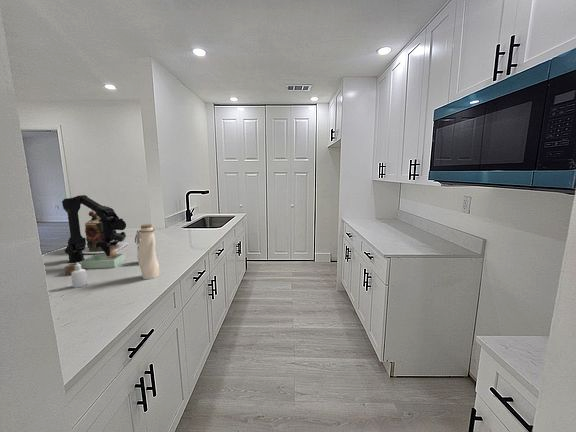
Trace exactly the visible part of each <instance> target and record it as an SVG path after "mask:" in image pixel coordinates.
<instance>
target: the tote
mask: <svg viewBox="0 0 576 432" xmlns="http://www.w3.org/2000/svg"><path fill="white" fill-rule="evenodd" d="M84 259H85V260H83V261H81V262H80V263H81V269H85V270H90V269H91V270H93V269H113V268H117V267H118V266H120V265H121V264H122V263H124V262H126V253H116V257H115V258H106V254H92V255H91V256H89V257H87V258H84Z"/></svg>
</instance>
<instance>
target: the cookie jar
mask: <svg viewBox="0 0 576 432" xmlns="http://www.w3.org/2000/svg"><path fill="white" fill-rule="evenodd" d="M88 216H89V217H91V218H90V220H88V221H87V222H85V223H84V233H85V236H86V237H85V239H86V247H87V248H86V247H85V250H82V253H83V255H84V254H86V255H87V254H89V255H97V254H105V252H104V251H103V250H102V249H101V247H96V245H95V244H96V243H97V242H99V241H102V239H103V234H101V232H103V230H102V222H98V221H99V220H100V219H101V218H100V217H99V216H97V215H96V212H95V211H93V210H92V209H91V210H90V211H88ZM128 244H129V242H128V241H127V242H118V243H117V244H116V248H115V250H116V252H118V251H119V250H121V249H123V248H125V246H128Z"/></svg>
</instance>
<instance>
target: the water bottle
mask: <svg viewBox="0 0 576 432" xmlns="http://www.w3.org/2000/svg"><path fill="white" fill-rule="evenodd" d="M154 231H156V230H155V228H153V226H152V224H151V223H148V224H147V223H146V224H145V223H144V224H141V225H140V230H136V234H135V237H134V243H135V244H136V246H139V248H137V263H138V265H139V268H140V272H141V276H142V279H144V280H151V279H156V278H157V277H159V275H160V265H159V261H158V258H157V254H156V253H157V252H156V237H155V234H154Z"/></svg>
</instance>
